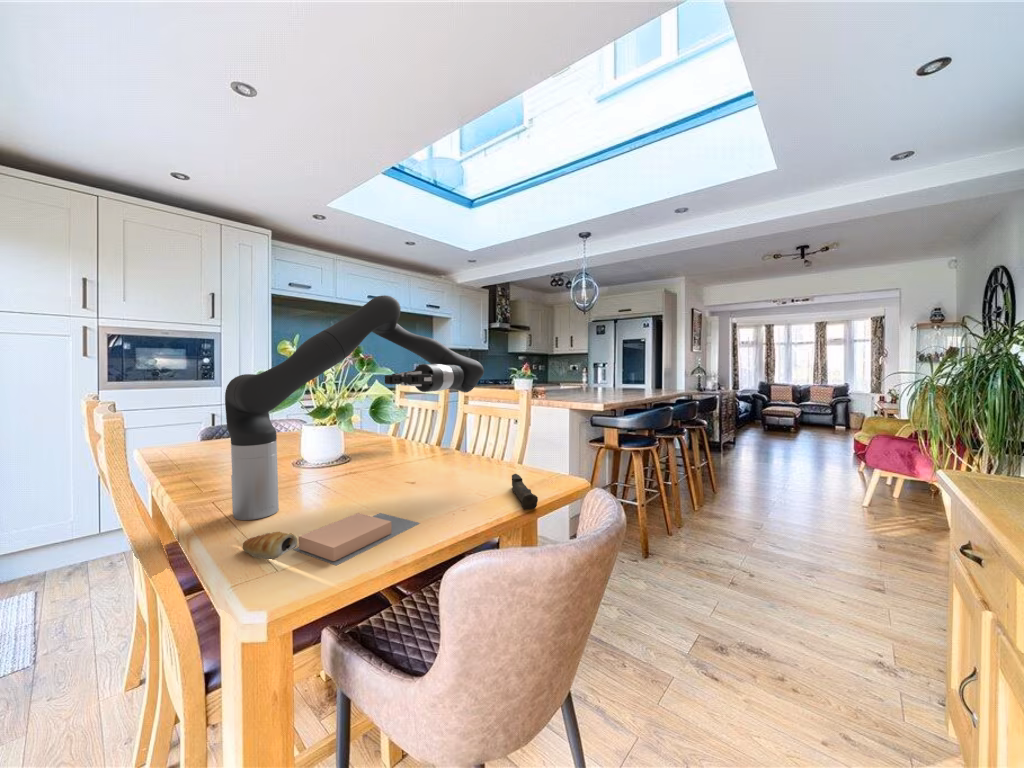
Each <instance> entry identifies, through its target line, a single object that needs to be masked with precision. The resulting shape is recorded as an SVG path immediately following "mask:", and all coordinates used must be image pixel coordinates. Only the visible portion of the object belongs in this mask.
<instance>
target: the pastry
mask: <svg viewBox="0 0 1024 768" xmlns="http://www.w3.org/2000/svg"><path fill="white" fill-rule="evenodd" d="M297 545H298V538H297V537H296V535H295V534H294V533H293V532H287V533H286V532H282V531H273V532H267V533H264V534H261V535H257V536H254V537H253V536H252V537H250V538H248V539H246V540H244V542H243V543H242V547H241V548H242V550H243V551H244V552H245V553H246V554H247V553H249V555H250V556H251V555H252V558H254V557H256V558H258V559H262V558H263V560H269V559H272V560H275V559H276V558H279V557H280V556H282V555H284V554H285V553H287V552H289V551H291V550H293V549H295V548H297V547H296V546H297Z"/></svg>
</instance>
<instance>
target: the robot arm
mask: <svg viewBox="0 0 1024 768" xmlns="http://www.w3.org/2000/svg"><path fill="white" fill-rule="evenodd" d="M400 316H401V305H400V302H399V301H398V300H397V299H396V298H395V297H393V296H389V295H385V294H384V295H377V296H376V297H374V298H372V299H370V300H369V301H368V302H367V303H365V304H364V305H362V307H360V308H359V309H357V310H356V311H355V312H353V313H352V314H350V315H348V316H347V317H344V318H343V319H341V320H339V321H337V322H336V323H334V324H333V325H330V326H329V327H327V328H325V329H324V330H321V331H320V332H318V333H316V334H315V335H313V336H311V337H310V338H308V339H307V340H305V341H304V342H303V343H302V344H301V345H299V347H298V348H296V350H295V351H294V352H293V353H292V354H291V355H290V356H289V357H288V358H287V359H286V360H284V361H282V362H281V363H279V364H277V365H276V366H273V367H271V368H270V369H267V370H266V371H263V372H260V373H257V374H251V373H250V374H249V373H247V374H246V373H245V374H244V373H243V374H240V375H237V376H235V377H233V378H232V379H231V380H230V381H229V383H228V384H227V386H226V388H225V393H224V405H225V419H226V420H225V421H226V428H227V431H228V432H227V433H228V434H229V437H230V452H231V453H230V454H231V455H230V456H231V457H230V458H231V476H230V477H231V500H232V501H231V503H232V504H231V505H232V515H233V518H234V519H235V520H239V521H251V520H257V519H258V520H259V519H263V518H266V517H269V516H272V515H274V514H276V513H278V511H279V479H278V478H279V477H278V474H279V473H278V472H279V471H278V442H277V439H278V438H277V436H278V435H277V429H276V427H274V425H273V424H272V421H271V418H270V412H271V411H273V410H274V409H276V407H278V406H279V405H280V404H282V403H283V402H284V401H285V400H287V399H288V398H289V397H290V396H291V395H293V394H294V393H295V392H296V391H298V389H300V388H301V387H303V386H304V385H306V384H307V383H309V382H311V381H313V380H314V379H316V378H318V377H319V376H320V375H322V374H324V373H325V372H326V371H328V370H330V369H332V368H333V367H335V366H336V365H338V364H339V363H341V362H342V361H344V360H345V359H346V358H347V357H349V356H351V354H352V353H353V352H354V351H355V350H356V349H357V348H358V347H359V345H360V344H361V343H362V342H363V341H364V340H365V339H366V337H368V335H370V334H371V333H373V334H375V335H377V336H378V337H381V338H383V339H384V340H386V341H389V342H391V343H393V344H395V345H397V346H399V347H401V348H403V349H405V350H407V351H410V352H411V353H414V354H415V355H417V356H419V357H420V358H421V359H423V360H425V361H426V362H427V363H422V364H419V365H418V366H416V367H415V369H414V370H408V371H401V372H400V373H398V372H395V373H392V374H386V375H384V384H385V385H398V386H399V385H401V386H408V387H415V388H416V389H417V390H418V391H419V392H421V393H429V392H440V391H441V392H442V391H444V390H451V389H453V390H456V391H459V392H462V393H464V394H465V393H469V392H472V390H473V389H474V388H475V386H477V384H478V383H479V381H480V380H481V378H482V377H483V375H484V373H485V369H484V367H483V365H482V364H481V362H479V361H477V360H476V359H473V358H471V357H467V356H464V355H463V354H460V353H458V352H455V351H454V350H452V349H450V348H449V347H447V346H446V345H445V344H444V343H441V342H439V341H438V340H437V339H434V338H432V337H429V336H425V335H419V334H416V333H413V332H410V331H409V330H406V329H405V328H403V327H402V326H401V325H400V324H399V323H398V321H399V319H400Z"/></svg>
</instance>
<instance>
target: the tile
mask: <svg viewBox="0 0 1024 768" xmlns="http://www.w3.org/2000/svg"><path fill="white" fill-rule="evenodd" d="M372 516H373V515H368V514H364V513H360V512H357V513H354V514H352V515H349V516H346V517H343V518H342V519H338V520H337V521H334V522H332V523H329V524H327V525H324V526H322V527H319V528H316V529H313V530H311V531H308V532H305V533H304V534H303V533H302V534H301V535H298V547H299V549H300V550H303V551H306V552H309V553H311V554H314V555H317V556H320V557H323V558H325V559H328V560H331V561H336V560H338V559H340V558H342V557H344V556H346V555H348V554H350V553H352V552H354V551H356V550H358V549H360V548H362V547H364V546H366V545H369V544H371V543H373V542H375V541H377V540H379V539H381V538H383V537H385V536H387V535H389V534H391V533H392V532H391V521H387V520H384V519H380V518H376V517H372Z"/></svg>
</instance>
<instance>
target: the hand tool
mask: <svg viewBox="0 0 1024 768" xmlns="http://www.w3.org/2000/svg"><path fill="white" fill-rule="evenodd" d="M511 486H512V492H513V493H514V492H515V493H514V494H515V495H516V497H518V500H519V501H520V502H521V507H522V509H523V510H526V511H527V510H534V509H536V508H537V507H538V501H539V497H538V496H537V495H535V494H534V493H532V490H531V489H530V488H528V487H527V486H526V484H525V482H523V478H522V476H520V474H517V473H513V474H511Z"/></svg>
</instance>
